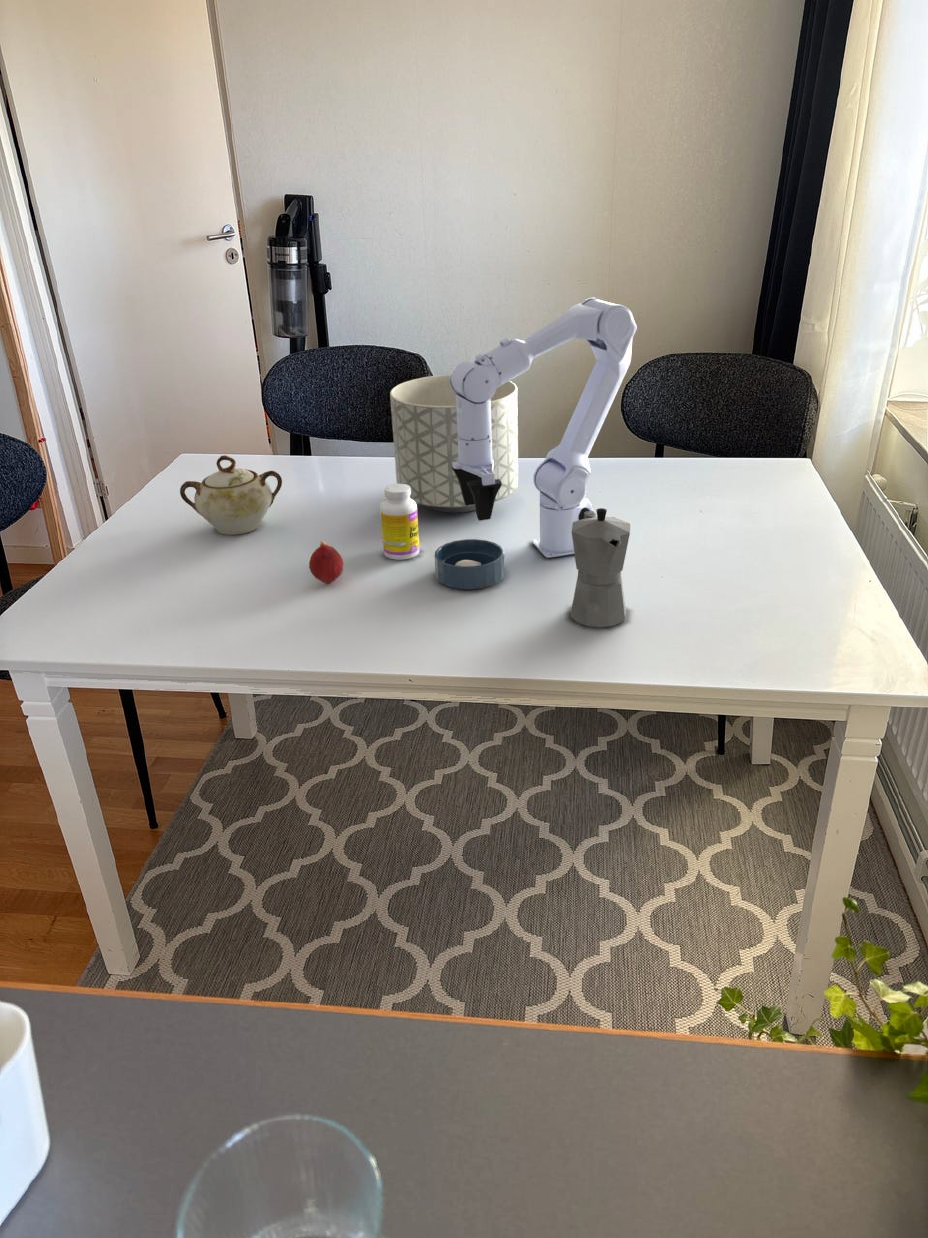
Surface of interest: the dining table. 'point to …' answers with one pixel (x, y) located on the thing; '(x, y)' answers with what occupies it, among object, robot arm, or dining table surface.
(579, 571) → the coffeepot
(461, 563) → the beige pebble
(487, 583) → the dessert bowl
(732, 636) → the dining table surface
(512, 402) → the planter
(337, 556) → the onion
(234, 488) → the sugar bowl
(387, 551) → the supplement bottle
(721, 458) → the dining table surface
